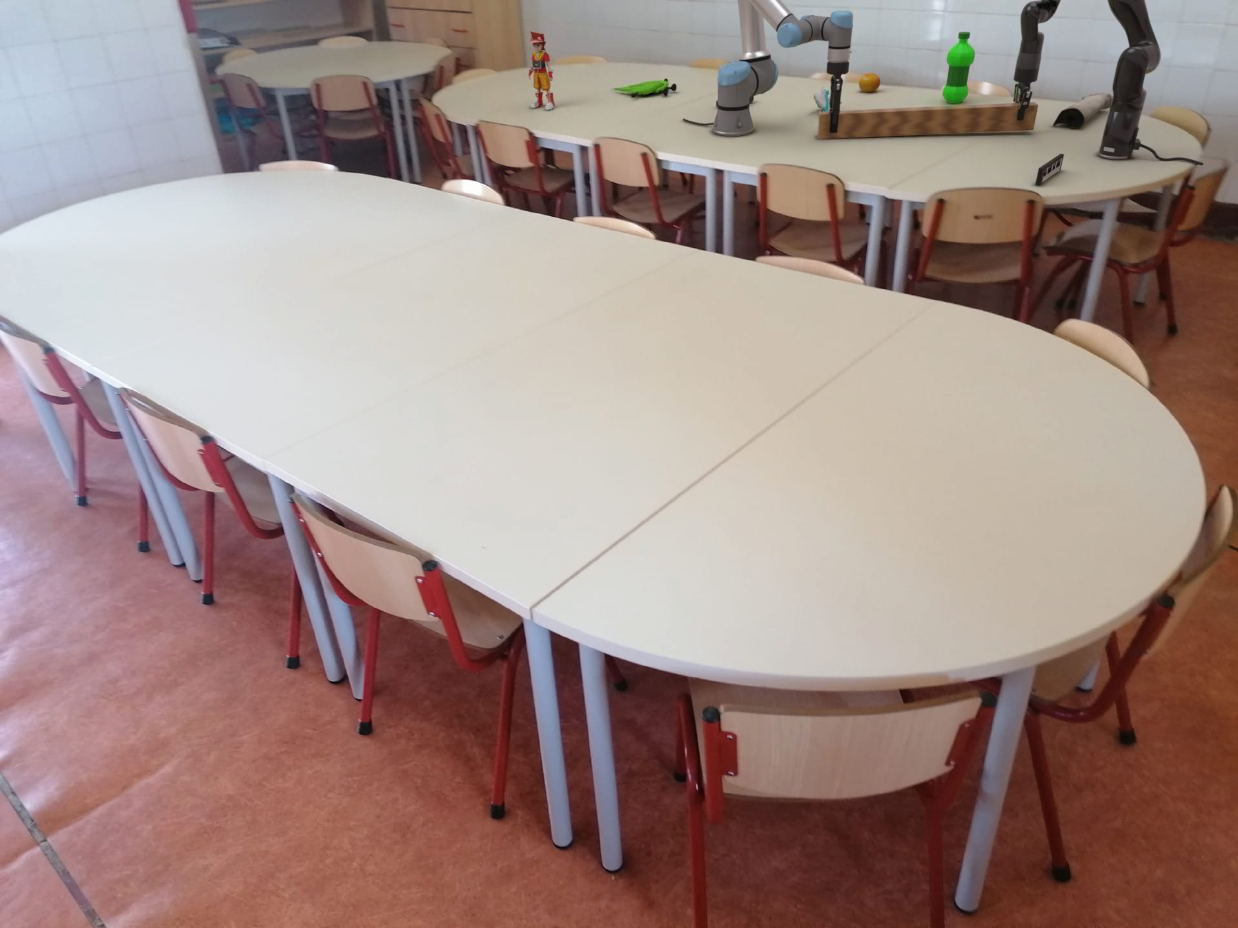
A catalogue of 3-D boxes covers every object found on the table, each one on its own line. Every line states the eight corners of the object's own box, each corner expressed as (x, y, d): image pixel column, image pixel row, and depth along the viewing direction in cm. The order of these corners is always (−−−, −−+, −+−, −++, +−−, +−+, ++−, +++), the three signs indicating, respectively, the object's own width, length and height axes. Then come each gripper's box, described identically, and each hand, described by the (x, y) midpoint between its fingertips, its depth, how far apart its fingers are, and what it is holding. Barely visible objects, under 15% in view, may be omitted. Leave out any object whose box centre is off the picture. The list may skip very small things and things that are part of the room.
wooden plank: (818, 139, 322) (819, 114, 318) (817, 136, 326) (818, 111, 321) (1033, 130, 312) (1038, 105, 308) (1030, 127, 316) (1035, 102, 311)
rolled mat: (1079, 98, 337) (1104, 81, 329) (1092, 118, 337) (1118, 102, 329) (1048, 120, 320) (1074, 102, 312) (1063, 141, 320) (1088, 124, 312)
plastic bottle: (973, 101, 354) (984, 32, 339) (955, 106, 349) (966, 36, 335) (952, 97, 361) (962, 29, 346) (934, 102, 356) (944, 33, 342)
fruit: (854, 84, 373) (866, 66, 369) (856, 88, 380) (868, 70, 377) (870, 95, 371) (882, 77, 368) (872, 98, 379) (884, 81, 376)
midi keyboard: (1039, 185, 269) (1043, 168, 266) (1035, 184, 270) (1038, 168, 267) (1060, 170, 279) (1064, 154, 277) (1056, 169, 280) (1060, 153, 277)
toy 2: (686, 85, 398) (631, 84, 414) (685, 72, 395) (629, 72, 411) (651, 104, 381) (596, 103, 397) (650, 92, 378) (594, 91, 394)
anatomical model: (809, 86, 352) (834, 80, 351) (812, 113, 358) (836, 106, 357) (818, 95, 340) (845, 88, 339) (822, 123, 346) (847, 116, 345)
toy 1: (525, 109, 381) (517, 32, 364) (534, 104, 388) (527, 28, 371) (550, 110, 377) (543, 32, 360) (559, 105, 384) (553, 28, 367)
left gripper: (852, 66, 301) (845, 137, 314) (846, 55, 316) (841, 123, 329) (829, 67, 302) (823, 137, 315) (825, 56, 317) (820, 124, 330)
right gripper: (1045, 70, 297) (1034, 123, 307) (1033, 61, 309) (1024, 113, 318) (1021, 71, 298) (1011, 124, 308) (1011, 62, 310) (1002, 114, 319)
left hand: (832, 130), depth 322 cm, fingers open, 5 cm apart
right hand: (1018, 118), depth 313 cm, fingers closed on wooden plank, 4 cm apart
